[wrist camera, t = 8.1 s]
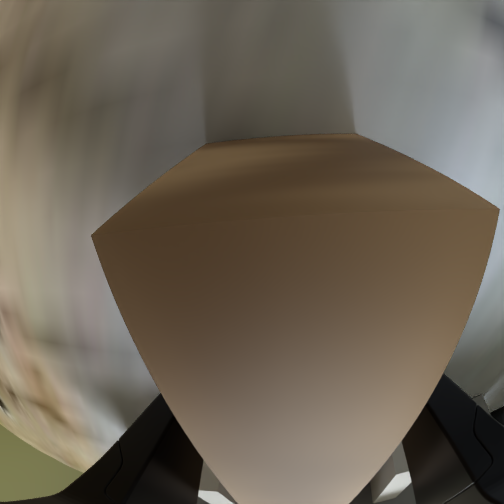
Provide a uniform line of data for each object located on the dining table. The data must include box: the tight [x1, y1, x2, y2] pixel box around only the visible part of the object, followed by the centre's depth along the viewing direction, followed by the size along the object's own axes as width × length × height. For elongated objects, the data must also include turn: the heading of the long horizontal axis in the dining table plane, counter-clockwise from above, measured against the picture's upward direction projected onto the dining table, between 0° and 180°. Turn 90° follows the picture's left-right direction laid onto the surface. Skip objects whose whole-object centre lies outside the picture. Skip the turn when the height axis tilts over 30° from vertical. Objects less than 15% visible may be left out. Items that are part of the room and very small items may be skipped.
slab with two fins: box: [197, 395, 490, 504], centre depth 11 cm, size 24×8×7 cm, turn 102°
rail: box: [91, 134, 500, 504], centre depth 9 cm, size 4×16×6 cm, turn 6°
